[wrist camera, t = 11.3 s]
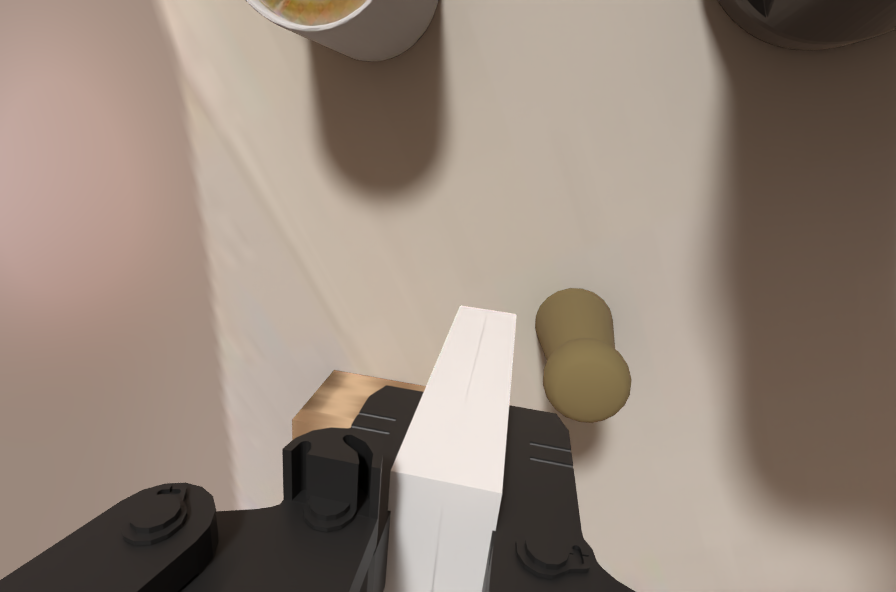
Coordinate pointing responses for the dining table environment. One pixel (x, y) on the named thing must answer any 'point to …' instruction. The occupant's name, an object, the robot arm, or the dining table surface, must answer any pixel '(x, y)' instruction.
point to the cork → (581, 356)
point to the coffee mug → (353, 23)
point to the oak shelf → (340, 401)
